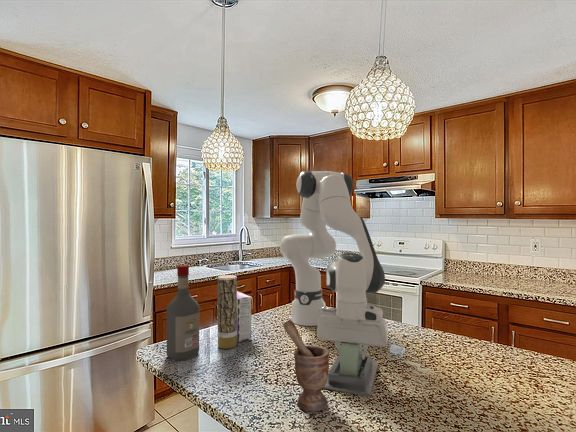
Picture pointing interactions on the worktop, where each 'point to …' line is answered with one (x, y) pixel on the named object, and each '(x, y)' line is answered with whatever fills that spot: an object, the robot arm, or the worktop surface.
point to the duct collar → (353, 378)
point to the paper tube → (227, 311)
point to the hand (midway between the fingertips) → (351, 357)
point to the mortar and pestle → (309, 371)
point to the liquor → (182, 321)
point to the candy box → (243, 317)
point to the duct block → (350, 359)
